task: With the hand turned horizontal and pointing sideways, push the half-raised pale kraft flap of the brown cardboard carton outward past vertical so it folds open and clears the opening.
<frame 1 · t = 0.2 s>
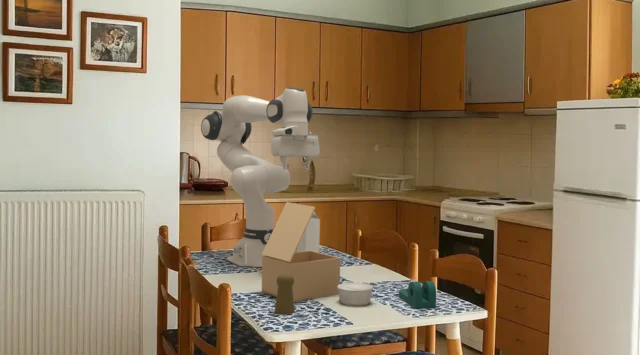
hand: (296, 169, 261), 39 cm above the table, tool pointing down, fingers open, 8 cm apart
milk carton: (307, 253, 310), on the table
bracket: (415, 302, 227), on the table
ramekin: (354, 303, 225), on the table
olive pepper mill: (284, 312, 211), on the table
carton flap: (288, 231, 230), point 21 cm above the table, hinge at 60.0°
kraft carton: (300, 293, 235), on the table
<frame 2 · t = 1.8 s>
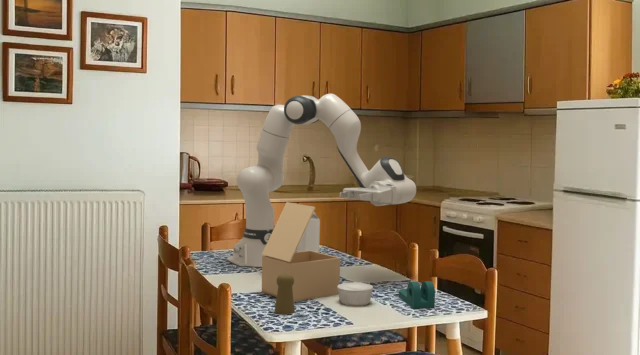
hand: (349, 196, 246), 31 cm above the table, tool horizontal, fingers open, 8 cm apart
nothing on the table moved.
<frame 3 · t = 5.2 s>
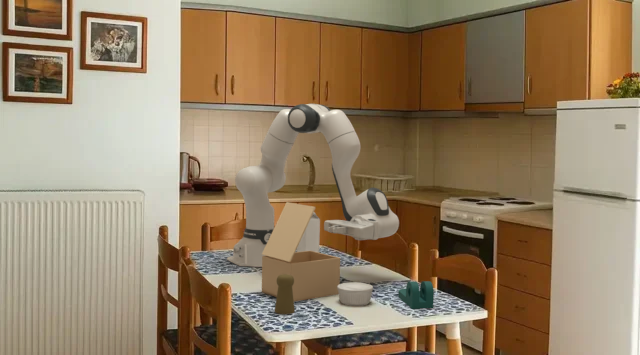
hand: (330, 230, 241), 20 cm above the table, tool horizontal, fingers closed
nothing on the table moved.
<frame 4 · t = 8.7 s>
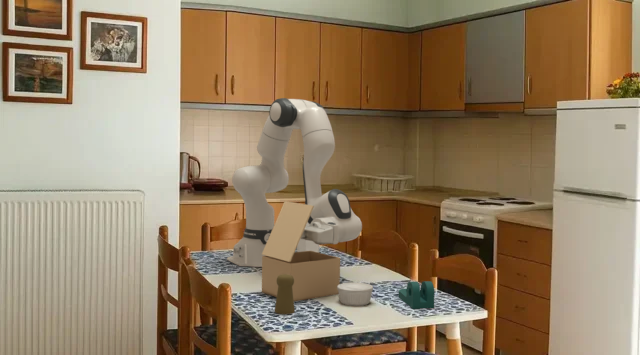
hand: (288, 234, 230), 20 cm above the table, tool horizontal, fingers closed, pressing on carton flap
carton flap: (287, 230, 230), point 21 cm above the table, hinge at 62.6°, touching gripper
everything else where it was.
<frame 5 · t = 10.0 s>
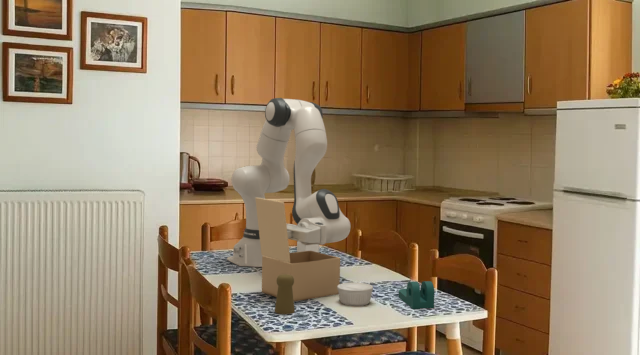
hand: (274, 234, 226), 20 cm above the table, tool horizontal, fingers closed, pressing on carton flap
carton flap: (272, 229, 226), point 22 cm above the table, hinge at 98.6°, touching gripper
everything else where it was.
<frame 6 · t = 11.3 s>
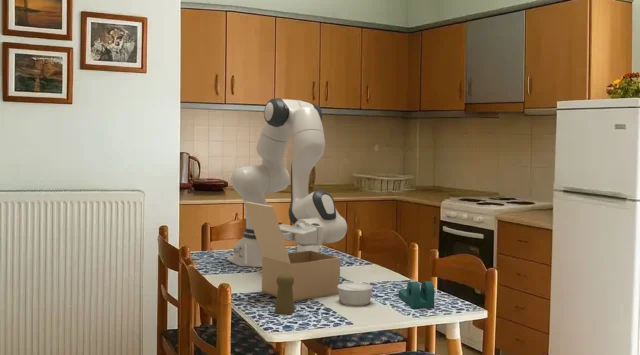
hand: (271, 235, 225), 20 cm above the table, tool horizontal, fingers open, 5 cm apart
carton flap: (267, 231, 225), point 21 cm above the table, hinge at 111.1°, touching gripper
everything else where it was.
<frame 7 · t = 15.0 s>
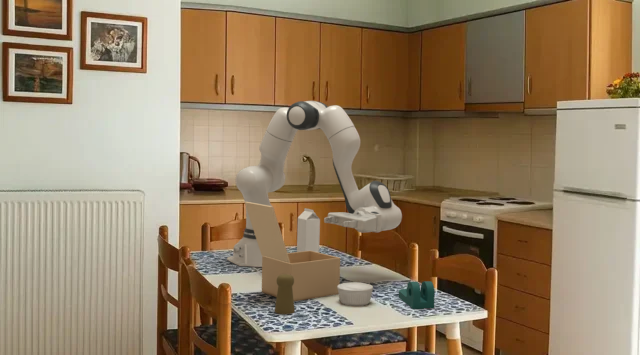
hand: (334, 222, 243), 22 cm above the table, tool horizontal, fingers open, 8 cm apart
carton flap: (267, 231, 225), point 21 cm above the table, hinge at 111.3°
everything else where it was.
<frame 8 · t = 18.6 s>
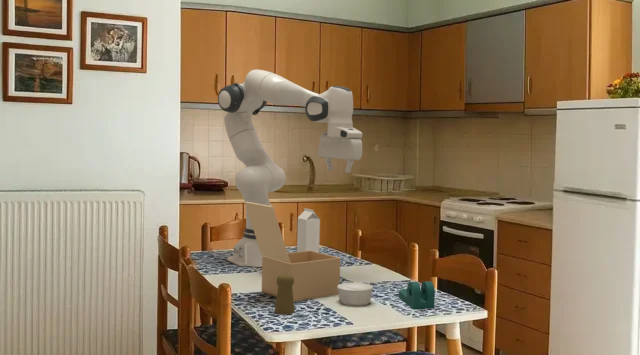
hand: (338, 171, 252), 39 cm above the table, tool pointing down, fingers open, 8 cm apart
nothing on the table moved.
at the end: carton flap at +111° (first picture: +60°); bracket moved 0.6 cm from its start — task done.
